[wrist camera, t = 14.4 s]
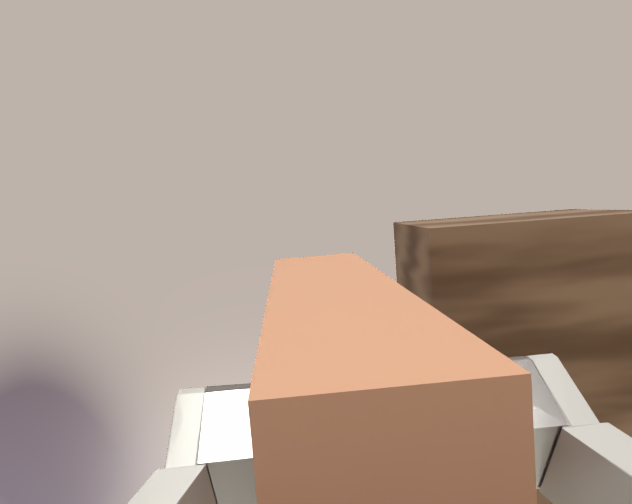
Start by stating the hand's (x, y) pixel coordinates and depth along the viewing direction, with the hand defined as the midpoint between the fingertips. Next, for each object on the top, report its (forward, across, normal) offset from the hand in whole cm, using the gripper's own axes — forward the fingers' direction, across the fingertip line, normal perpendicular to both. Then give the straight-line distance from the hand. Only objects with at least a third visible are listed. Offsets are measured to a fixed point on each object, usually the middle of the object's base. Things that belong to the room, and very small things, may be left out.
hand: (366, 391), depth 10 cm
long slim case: (+5, 0, +5) cm, 7 cm away
